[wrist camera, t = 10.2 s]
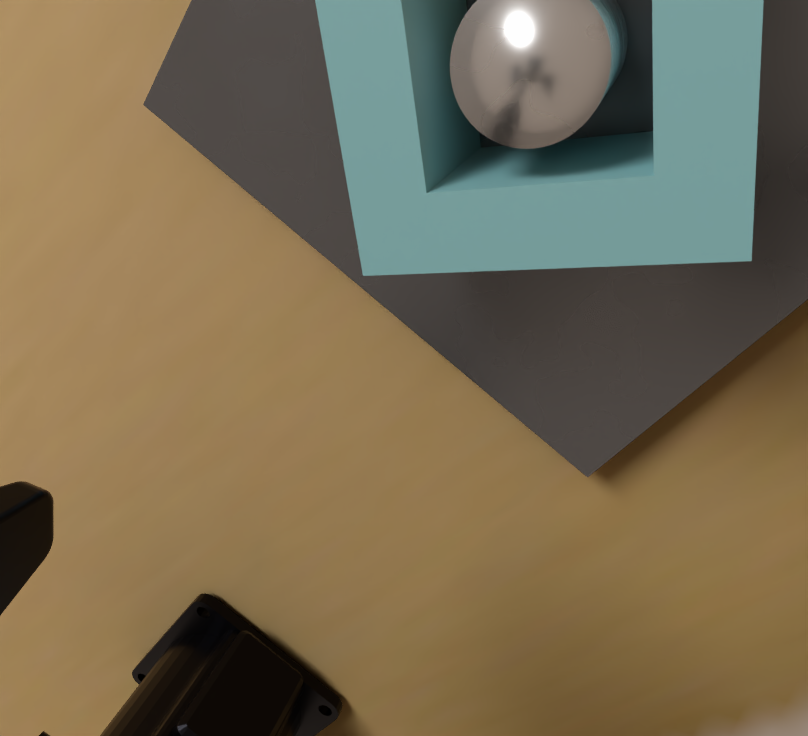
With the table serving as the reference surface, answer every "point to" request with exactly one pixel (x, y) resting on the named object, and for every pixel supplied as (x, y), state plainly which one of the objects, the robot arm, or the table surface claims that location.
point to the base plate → (512, 315)
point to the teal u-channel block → (543, 150)
